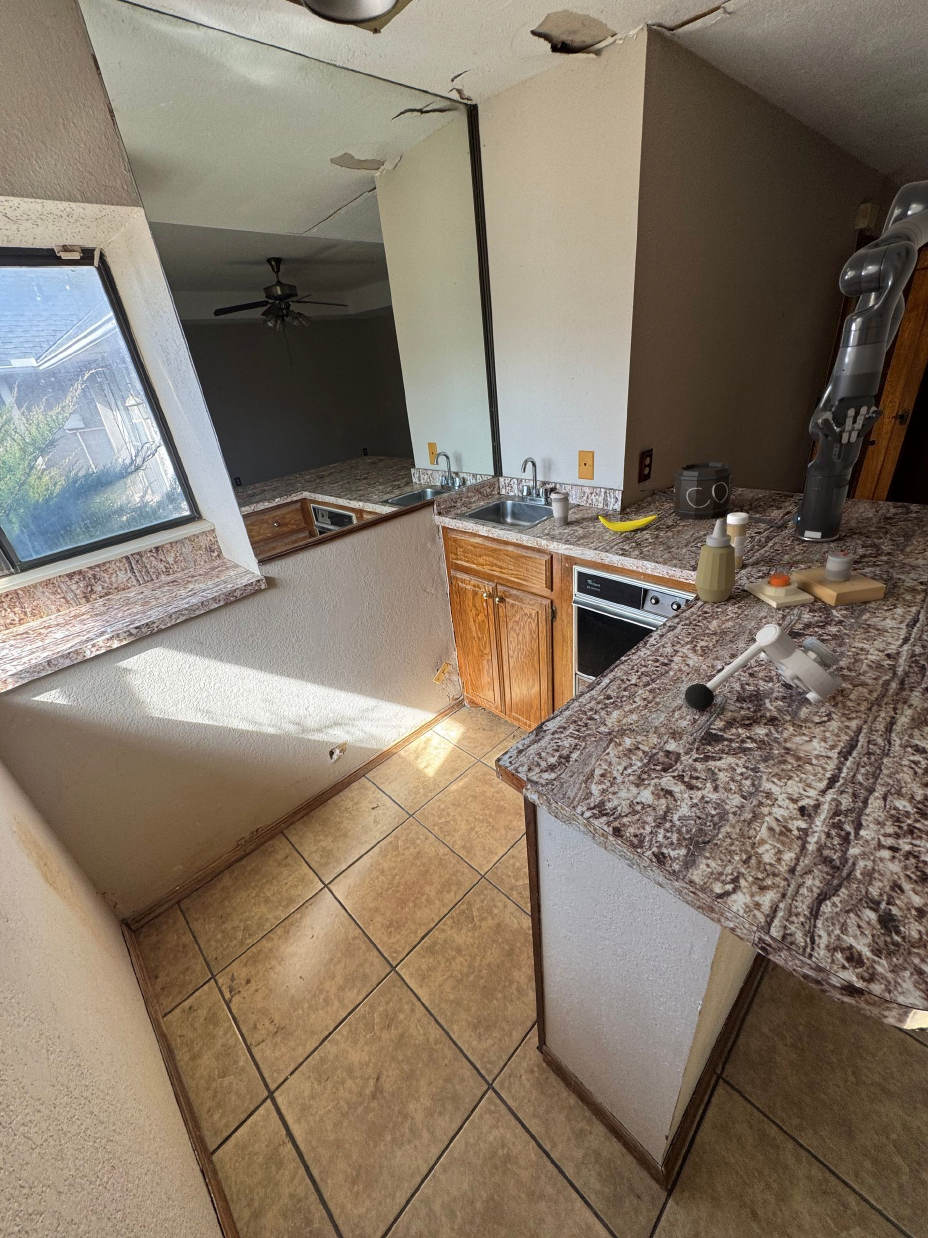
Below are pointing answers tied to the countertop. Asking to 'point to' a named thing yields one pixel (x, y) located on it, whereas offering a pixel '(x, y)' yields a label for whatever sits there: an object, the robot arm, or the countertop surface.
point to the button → (779, 580)
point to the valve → (789, 661)
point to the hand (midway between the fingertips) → (840, 460)
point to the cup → (560, 507)
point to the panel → (838, 587)
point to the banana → (626, 524)
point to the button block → (779, 593)
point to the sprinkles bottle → (737, 534)
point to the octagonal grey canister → (703, 490)
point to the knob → (839, 566)
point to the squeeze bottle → (716, 566)
